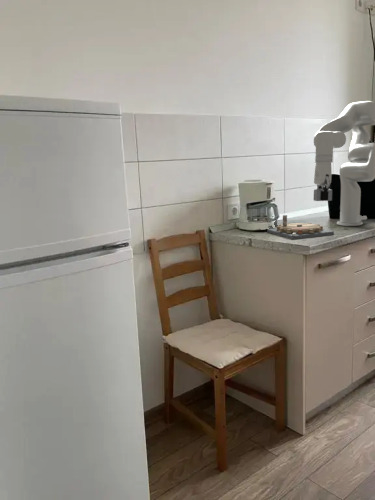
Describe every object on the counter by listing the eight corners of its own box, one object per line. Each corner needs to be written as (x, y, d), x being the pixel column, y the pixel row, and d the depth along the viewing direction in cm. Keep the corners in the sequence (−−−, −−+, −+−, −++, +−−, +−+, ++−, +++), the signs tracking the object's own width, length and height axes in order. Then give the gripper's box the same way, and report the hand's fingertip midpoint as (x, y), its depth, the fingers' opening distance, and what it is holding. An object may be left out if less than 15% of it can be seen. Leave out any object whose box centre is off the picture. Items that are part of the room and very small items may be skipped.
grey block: (313, 200, 200) (313, 188, 199) (328, 199, 201) (328, 187, 200) (316, 201, 196) (317, 188, 195) (331, 200, 196) (332, 188, 195)
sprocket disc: (272, 227, 213) (272, 214, 212) (313, 225, 214) (314, 212, 213) (283, 234, 193) (283, 219, 192) (329, 232, 194) (329, 217, 193)
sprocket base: (305, 228, 218) (305, 223, 217) (333, 234, 198) (333, 229, 197) (267, 232, 211) (267, 227, 210) (292, 239, 190) (292, 234, 190)
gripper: (309, 159, 203) (308, 198, 206) (322, 159, 186) (320, 201, 190) (325, 159, 203) (324, 198, 207) (339, 158, 187) (337, 201, 190)
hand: (322, 199), depth 198 cm, fingers closed on grey block, 4 cm apart
